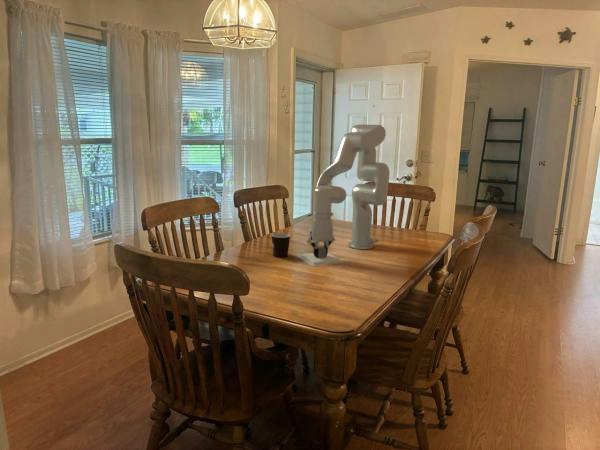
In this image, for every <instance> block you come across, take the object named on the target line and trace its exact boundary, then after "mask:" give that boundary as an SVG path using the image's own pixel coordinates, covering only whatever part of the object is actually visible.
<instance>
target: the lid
mask: <svg viewBox="0 0 600 450" xmlns="http://www.w3.org/2000/svg"><path fill="white" fill-rule="evenodd" d="M318 249H319V250H318V257H315V256H314V254H313V252H311V253H301V254H300V256H301V257H303V258H304V259H306V260H307V261H309V262H310V263H312V264H323V263H332V262H340V260H341V259H340V258H339V257H336V256H335V255H334V254H331V253H330V252H328V254H327V257H326V247H324V245H318Z"/></svg>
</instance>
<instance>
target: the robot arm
mask: <svg viewBox="0 0 600 450" xmlns="http://www.w3.org/2000/svg"><path fill="white" fill-rule="evenodd" d="M386 132H387V131H386V129H385V127H384V125H381V124H364V123H363V124H355V125H353V126H352V127H351V128H350V132H347V133H345V134H344V135H343V136H342V137H341V140H340V144H339V146H338V149H337V152H336V155H335V159H334V161H333V162H332V164H330V165H329V166H328V167H327V168H326V169H324V170H323V172H322V173H321V174H320V176H319V178H318V181H317V183H316V186H315V189H314V190H313V215H312V217H313V218H311V219H310V222H309V229H308V237H307V239H306V243H307V244H308V245H310V246H312V247H313V252H312V253H313V254H314V256H315V257H318V250H319V249H318V246H319V243H323V246H324V247H326V257H327V254H328V253H329V252H328V251H329V249H328V248H329V247H330V246H331V244H332V243H334V242H335V241H336V239H335V237H334V227H333V226H334V225H333V221H332V216H334V213H333V212H331V211H332V210H331V209H332V204H341V203H344V201H345V200H346V198H347V192H346V190H345V188H344V187H342V186H337V185H329V184H330V183H331V181H332V180H333V179H334V178H336V177H337V176H338V175H341V174H344V173H346V172H348V171H350V170H352V168H353V166H354V162H355V158H356V156H357V153H358V156H357V157H358V159H357V168H356V177H357V179H359V180H360V181H364V182H368V183H357V184H355V185H354V186H353V187H352V189H351V199H352V223H351V241H350V242H348V243H347V246H348V247H349V248H350V249H355V250H371V249H372V248H374V243H379V240H380V239H379V238H374V237H372V223H373V222H372V221H373V220H372V219H373V210H372V207H371V206H372V205H373V206H383V205H384V204H385V203H386V201H387V198H388V192H389V183H390V169H389V166H388V164H387V163H384V162H377V149H376V147H378V146H379V145H381V144H382V143H383V142H384V140H385V139H386V135H387V133H386ZM369 182H370V183H371V182H372V183H375V184H369ZM370 205H371V206H370Z"/></svg>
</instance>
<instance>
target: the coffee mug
mask: <svg viewBox="0 0 600 450" xmlns="http://www.w3.org/2000/svg"><path fill="white" fill-rule="evenodd" d="M270 238H271V245H272V247H271V248H272V256H273V257H274V258H277V259H279V258H280V259H281V258H287V257H288V255H289V247H290V243H291V242H290V241H291V235H290V234H288V233H283V232H277V233H272V234H271V237H270Z"/></svg>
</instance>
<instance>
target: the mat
mask: <svg viewBox="0 0 600 450" xmlns="http://www.w3.org/2000/svg"><path fill="white" fill-rule="evenodd" d="M297 258H299V259H300V260H302V261H303V262H305V263H306V264H308V265H309V266H311V267H315V266H316V267H317V266H325V265H326V266H327V265H333V264H334V265H335V264H343V263H344V264H345V261H343V260H341V259H340V262H332V263H323V264H312V263H310V262H309V261H307V260H306V259H304V258H303V257H301V255H297Z"/></svg>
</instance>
